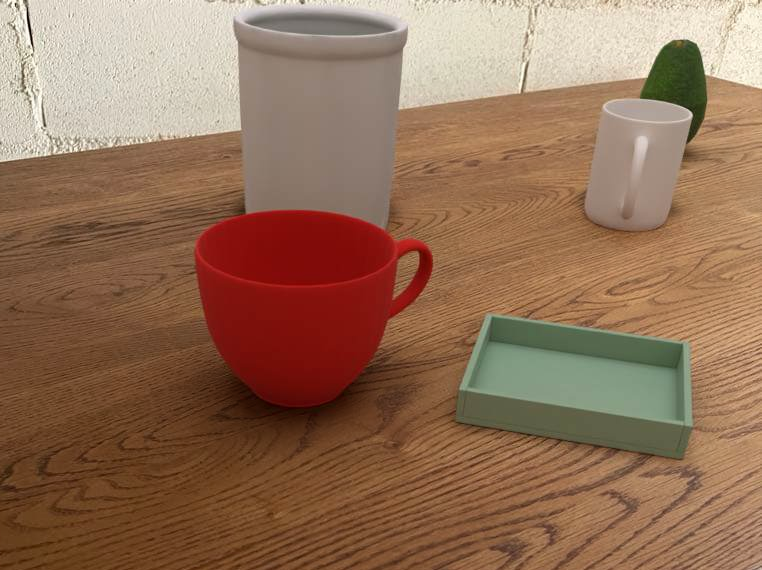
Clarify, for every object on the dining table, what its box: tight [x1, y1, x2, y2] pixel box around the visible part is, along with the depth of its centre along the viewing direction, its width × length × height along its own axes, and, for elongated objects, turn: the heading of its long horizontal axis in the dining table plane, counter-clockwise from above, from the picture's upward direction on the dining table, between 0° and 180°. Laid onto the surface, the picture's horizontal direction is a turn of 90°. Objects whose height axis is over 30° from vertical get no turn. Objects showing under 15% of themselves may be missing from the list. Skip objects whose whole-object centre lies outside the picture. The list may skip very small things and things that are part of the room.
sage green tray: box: [454, 312, 694, 460], centre depth 64 cm, size 15×12×2 cm
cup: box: [583, 98, 693, 232], centre depth 89 cm, size 8×12×10 cm
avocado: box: [639, 38, 708, 147], centre depth 108 cm, size 8×8×12 cm
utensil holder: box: [232, 3, 409, 231], centre depth 84 cm, size 15×15×18 cm
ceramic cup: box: [193, 210, 434, 408], centre depth 63 cm, size 13×17×10 cm
